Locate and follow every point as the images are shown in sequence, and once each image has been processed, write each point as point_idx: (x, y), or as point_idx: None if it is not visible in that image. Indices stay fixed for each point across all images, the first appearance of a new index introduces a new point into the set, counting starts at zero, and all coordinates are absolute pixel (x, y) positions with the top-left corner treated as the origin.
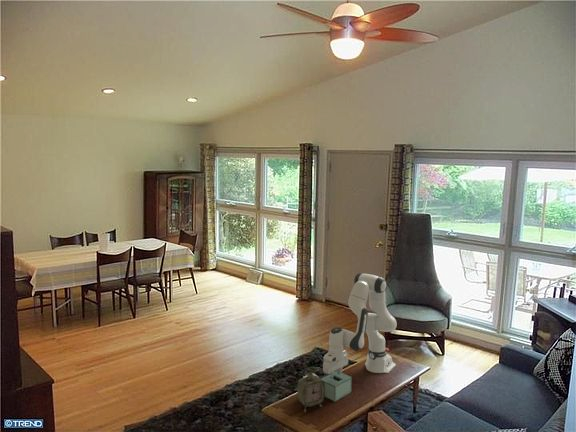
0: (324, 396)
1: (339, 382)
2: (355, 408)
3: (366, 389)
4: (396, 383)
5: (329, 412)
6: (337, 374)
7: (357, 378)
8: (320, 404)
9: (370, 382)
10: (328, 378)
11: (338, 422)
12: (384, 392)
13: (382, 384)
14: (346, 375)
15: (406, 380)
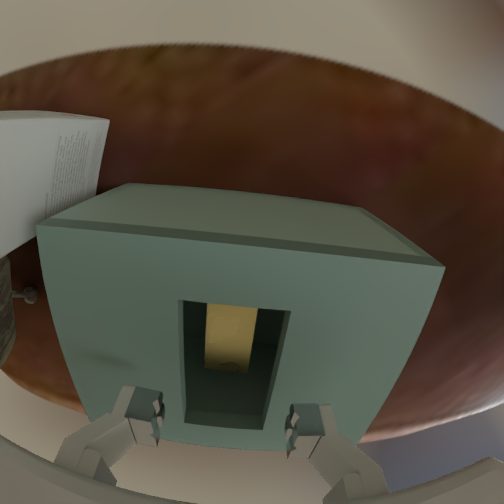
0: (6, 356)
1: (173, 433)
2: None
3: (400, 379)
4: (476, 405)
5: (49, 349)
6: (344, 341)
7: (497, 271)
8: (24, 298)
9: (473, 347)
10: (136, 312)
11: (49, 398)
12: (399, 428)
13: (464, 387)
14: (368, 412)
15: (496, 405)
